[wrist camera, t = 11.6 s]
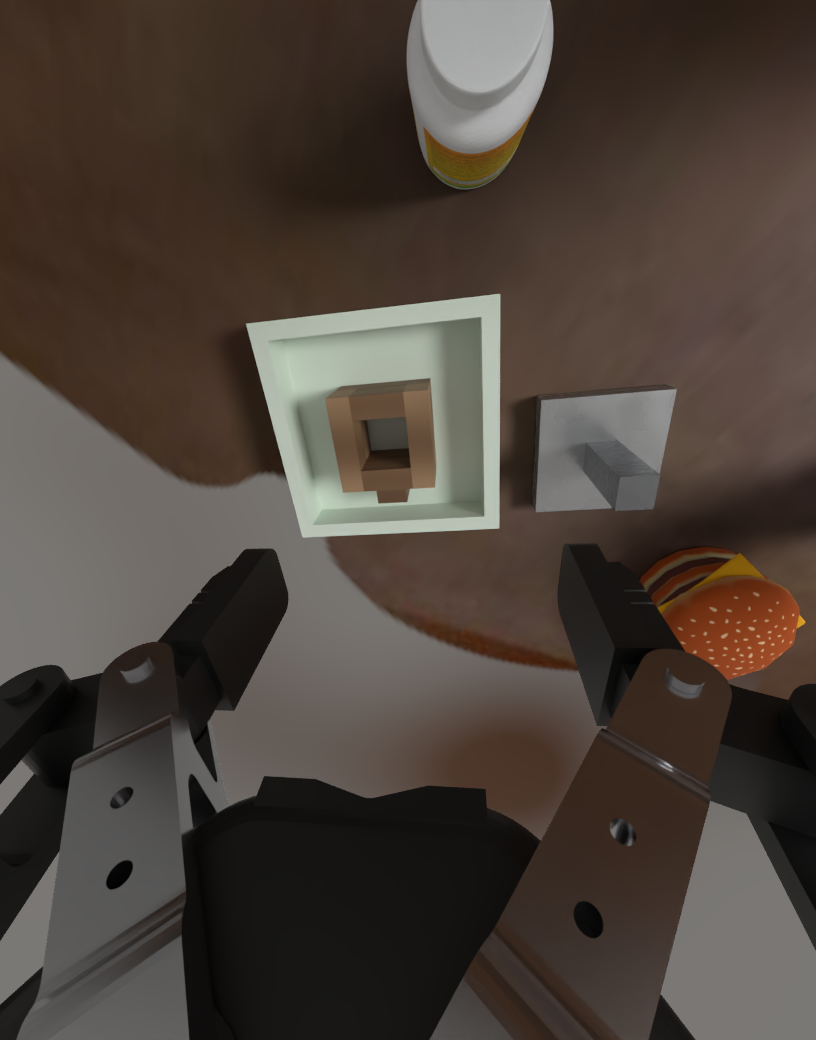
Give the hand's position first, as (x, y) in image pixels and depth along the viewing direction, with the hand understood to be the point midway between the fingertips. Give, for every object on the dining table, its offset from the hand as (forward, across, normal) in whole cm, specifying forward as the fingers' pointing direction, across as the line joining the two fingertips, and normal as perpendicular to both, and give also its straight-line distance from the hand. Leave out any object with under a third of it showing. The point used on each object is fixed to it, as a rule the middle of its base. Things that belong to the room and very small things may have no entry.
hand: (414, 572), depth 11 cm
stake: (+19, -11, +4) cm, 22 cm away
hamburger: (+19, -20, +16) cm, 32 cm away
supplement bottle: (+20, -2, -14) cm, 24 cm away
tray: (+19, +3, +1) cm, 19 cm away
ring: (+18, +3, +1) cm, 18 cm away
